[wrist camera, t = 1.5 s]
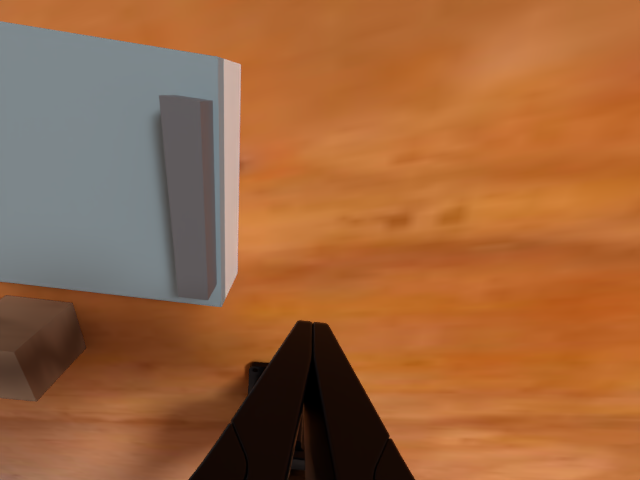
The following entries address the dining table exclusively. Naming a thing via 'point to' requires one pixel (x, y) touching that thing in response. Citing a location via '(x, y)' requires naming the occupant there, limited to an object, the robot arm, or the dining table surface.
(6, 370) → the walnut block
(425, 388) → the dining table surface
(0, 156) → the sliding cover
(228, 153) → the white sliding-lid box
